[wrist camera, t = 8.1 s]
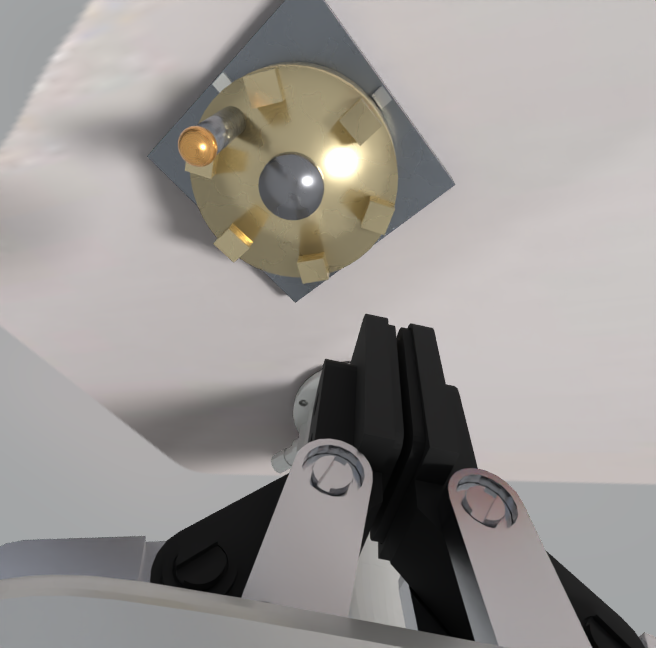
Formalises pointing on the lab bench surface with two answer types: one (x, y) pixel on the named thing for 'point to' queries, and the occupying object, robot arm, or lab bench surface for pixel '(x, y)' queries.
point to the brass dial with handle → (293, 170)
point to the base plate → (337, 54)
